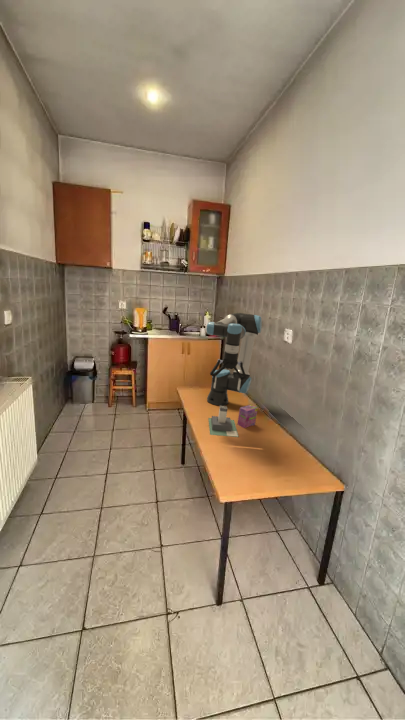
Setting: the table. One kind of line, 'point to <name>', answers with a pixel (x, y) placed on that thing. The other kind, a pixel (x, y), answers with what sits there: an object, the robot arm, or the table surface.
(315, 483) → the table surface
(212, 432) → the board
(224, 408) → the plug
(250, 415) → the box
